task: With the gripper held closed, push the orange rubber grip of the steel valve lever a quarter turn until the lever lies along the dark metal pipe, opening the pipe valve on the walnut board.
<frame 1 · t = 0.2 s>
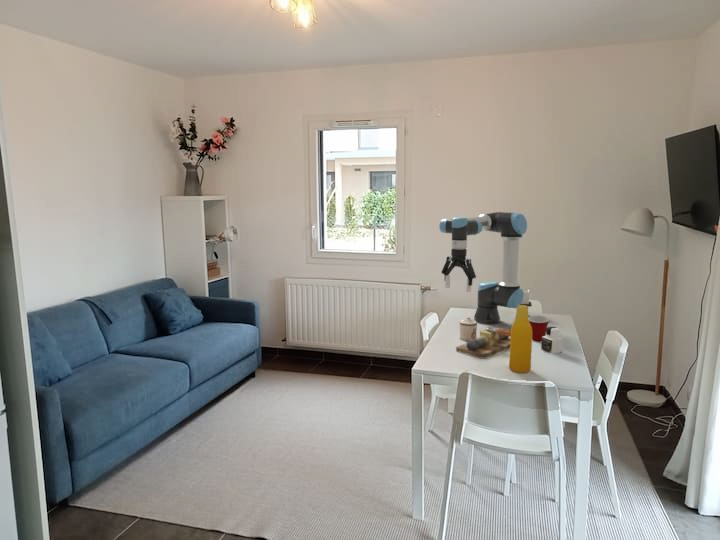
hand: (457, 289, 280), 28 cm above the table, tool pointing down, fingers open, 13 cm apart
medicine bottle: (551, 351, 270), on the table
plastic cup: (537, 340, 288), on the table
teacup with lid: (468, 338, 293), on the table
candle holder: (521, 316, 339), on the table
pipe valve: (488, 347, 276), on the table
valve lever: (498, 331, 271), point 10 cm above the table, hinge at 90.0°
beer bottle: (519, 370, 244), on the table
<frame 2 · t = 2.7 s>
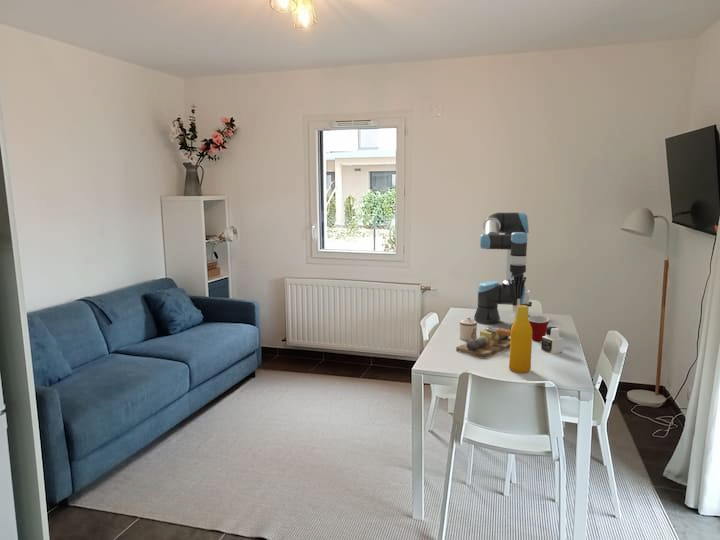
hand: (515, 311, 271), 19 cm above the table, tool pointing down, fingers closed
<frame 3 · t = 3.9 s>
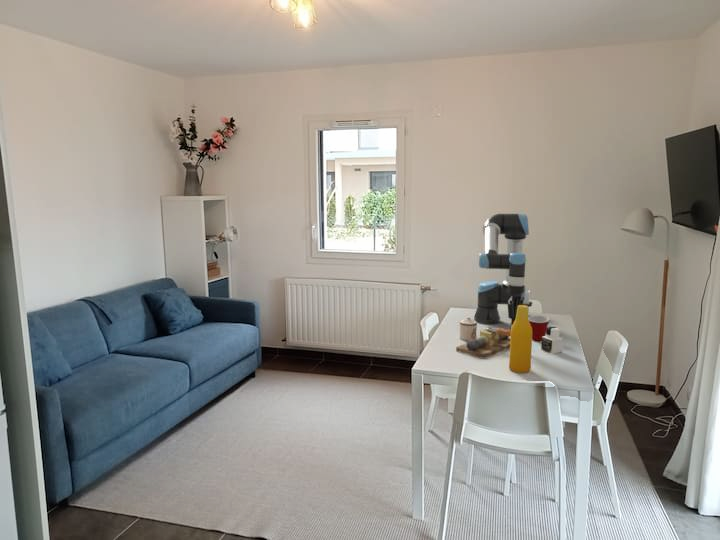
hand: (514, 331, 272), 9 cm above the table, tool pointing down, fingers closed
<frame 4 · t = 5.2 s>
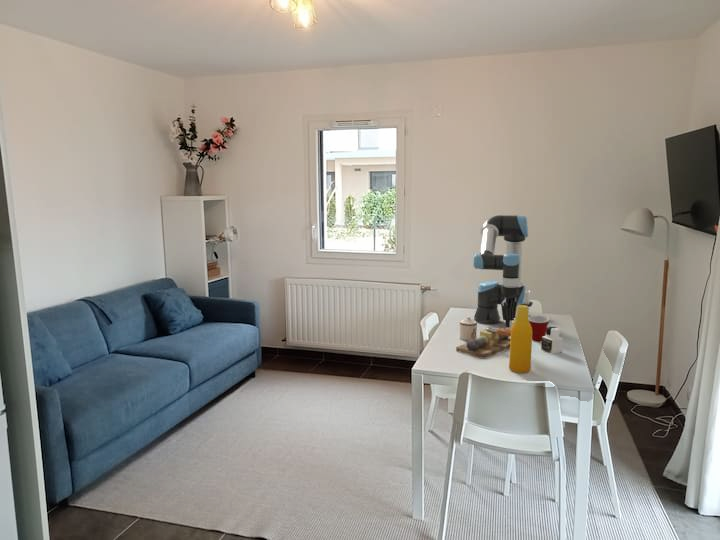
hand: (508, 333, 269), 9 cm above the table, tool pointing down, fingers closed
valve lever: (498, 331, 271), point 10 cm above the table, hinge at 88.9°, touching gripper
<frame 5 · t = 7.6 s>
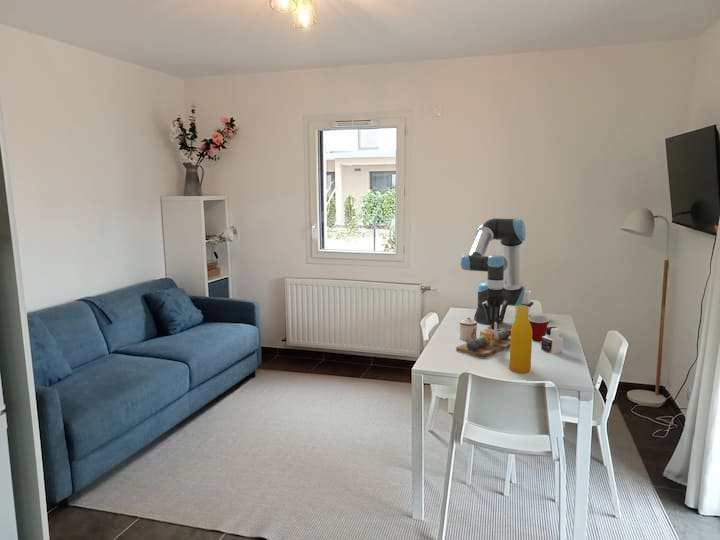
hand: (494, 335, 265), 9 cm above the table, tool pointing down, fingers closed
valve lever: (489, 331, 269), point 10 cm above the table, hinge at 33.8°, touching gripper
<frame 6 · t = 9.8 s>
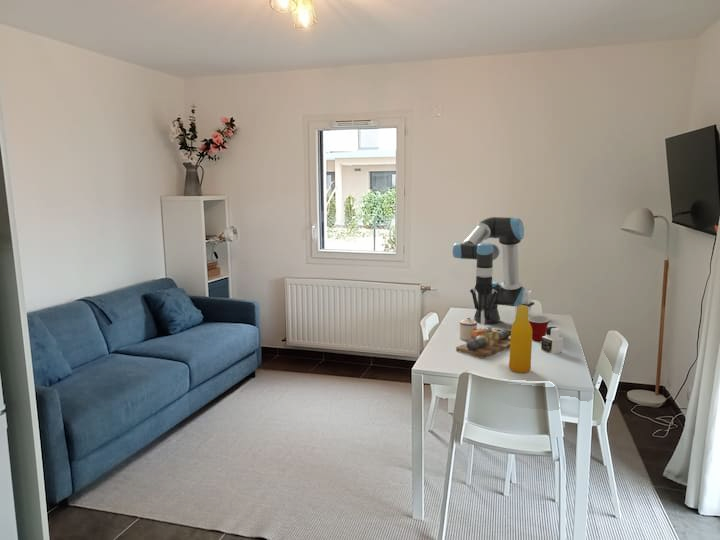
hand: (482, 323, 266), 14 cm above the table, tool pointing down, fingers closed
valve lever: (482, 331, 271), point 10 cm above the table, hinge at -0.9°
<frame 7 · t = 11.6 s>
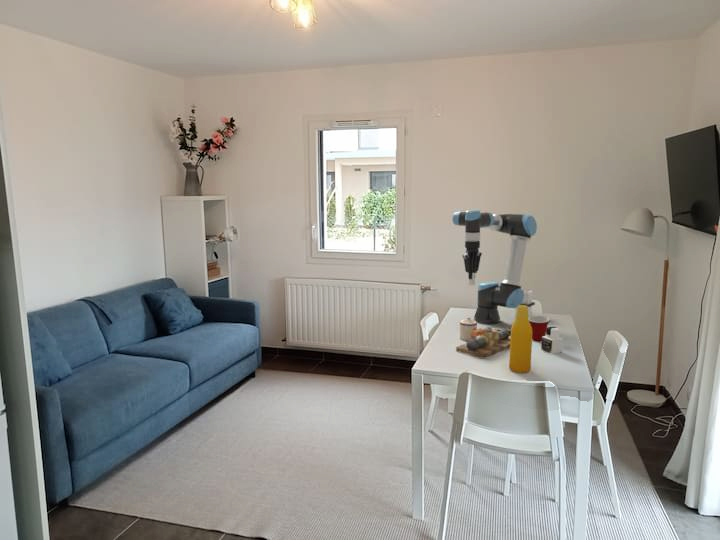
hand: (471, 284, 289), 29 cm above the table, tool pointing down, fingers closed
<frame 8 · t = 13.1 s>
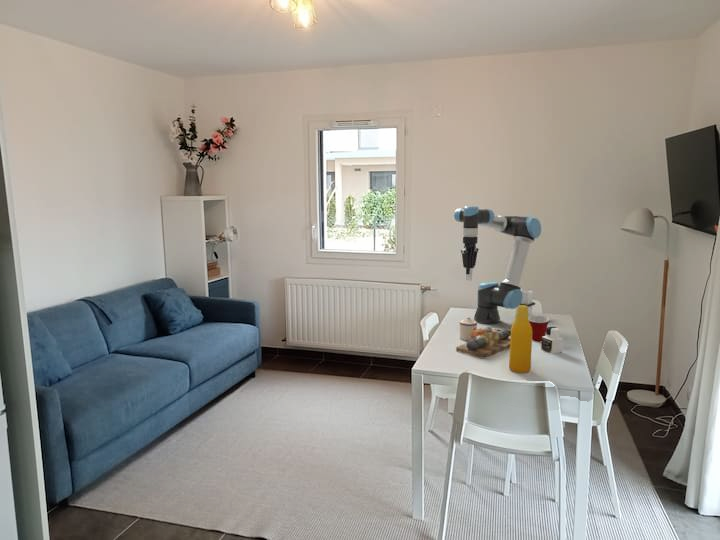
hand: (468, 280, 292), 30 cm above the table, tool pointing down, fingers closed
at the end: valve lever at -1° (first picture: +90°) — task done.
